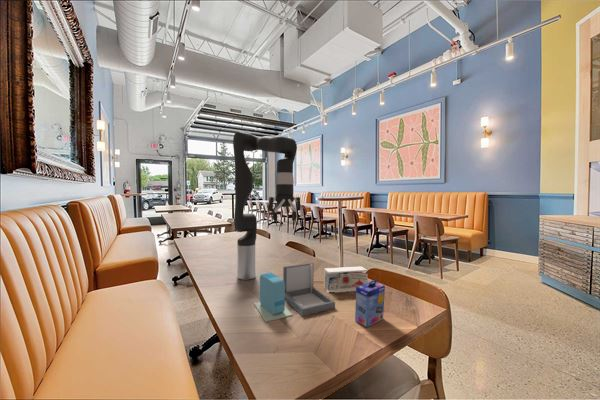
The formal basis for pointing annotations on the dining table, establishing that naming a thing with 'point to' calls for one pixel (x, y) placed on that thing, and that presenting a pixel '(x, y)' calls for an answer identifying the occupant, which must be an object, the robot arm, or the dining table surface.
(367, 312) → the ink cartridge box
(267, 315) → the mat
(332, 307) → the case
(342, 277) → the white printed box
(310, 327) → the dining table surface
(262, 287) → the blue rubber eraser
